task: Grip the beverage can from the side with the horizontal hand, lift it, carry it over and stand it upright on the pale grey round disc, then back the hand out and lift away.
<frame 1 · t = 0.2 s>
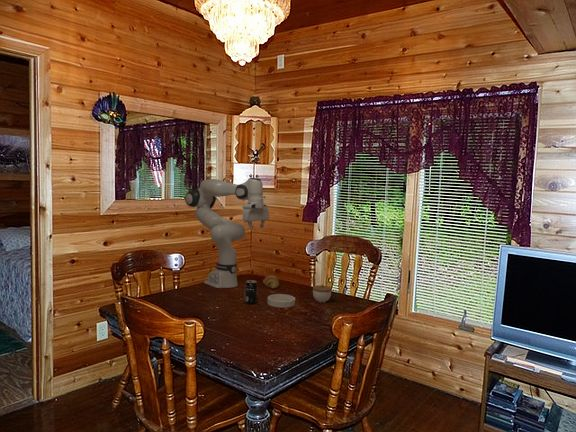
hand: (256, 228, 248), 39 cm above the table, tool pointing down, fingers open, 8 cm apart
lidded jar: (321, 301, 240), on the table
beverage can: (250, 302, 231), on the table
pale grey round disc: (281, 303, 232), on the table
croissant: (270, 286, 270), on the table
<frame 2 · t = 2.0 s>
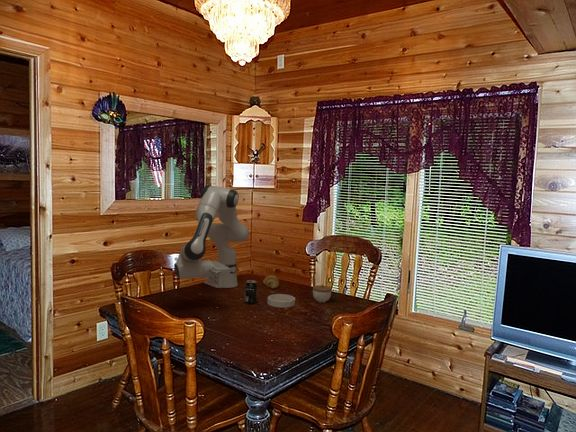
hand: (231, 267, 223), 21 cm above the table, tool horizontal, fingers open, 8 cm apart
nothing on the table moved.
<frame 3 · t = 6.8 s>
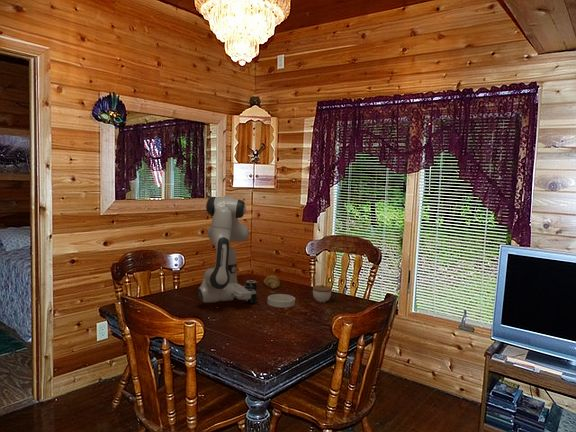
hand: (252, 289, 231), 7 cm above the table, tool horizontal, fingers closed on beverage can, 7 cm apart
beverage can: (250, 302, 231), on the table, touching gripper
everything else where it was.
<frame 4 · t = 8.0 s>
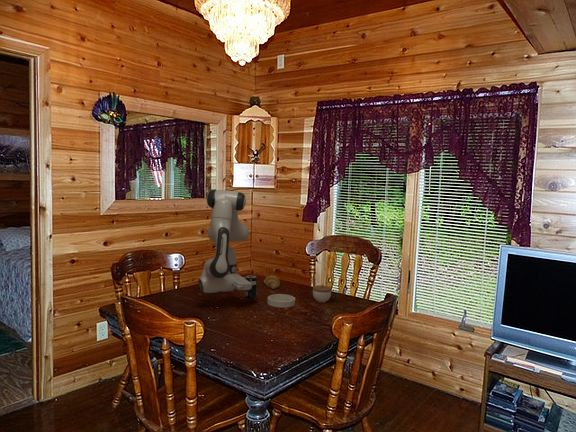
hand: (252, 280, 231), 12 cm above the table, tool horizontal, fingers closed on beverage can, 6 cm apart
beverage can: (250, 298, 231), point 2 cm above the table, touching gripper
everything else where it was.
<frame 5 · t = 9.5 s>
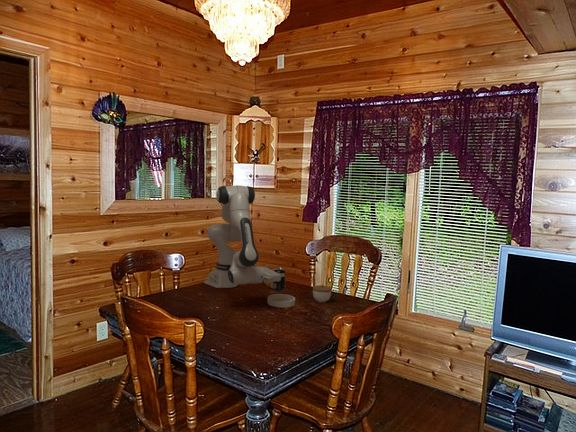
hand: (280, 273, 231), 17 cm above the table, tool horizontal, fingers closed on beverage can, 6 cm apart
beverage can: (278, 290, 231), point 7 cm above the table, touching gripper
everything else where it was.
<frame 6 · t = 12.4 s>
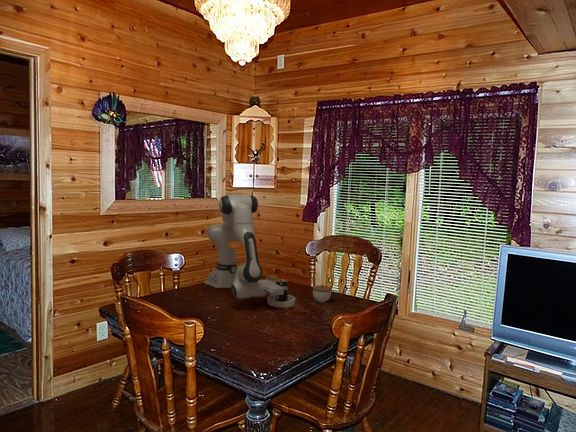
hand: (283, 286, 232), 10 cm above the table, tool horizontal, fingers closed on beverage can, 6 cm apart
beverage can: (281, 302, 231), point 1 cm above the table, touching pale grey round disc, gripper
everything else where it was.
when the fingers open (10 cm above the table, at t = 12.4 s): beverage can stays where it is, resting on pale grey round disc.
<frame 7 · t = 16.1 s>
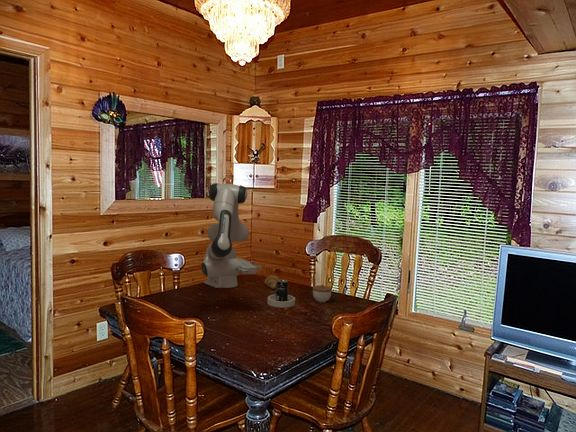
hand: (257, 265, 223), 22 cm above the table, tool horizontal, fingers open, 8 cm apart
beverage can: (281, 302, 231), point 1 cm above the table, touching pale grey round disc
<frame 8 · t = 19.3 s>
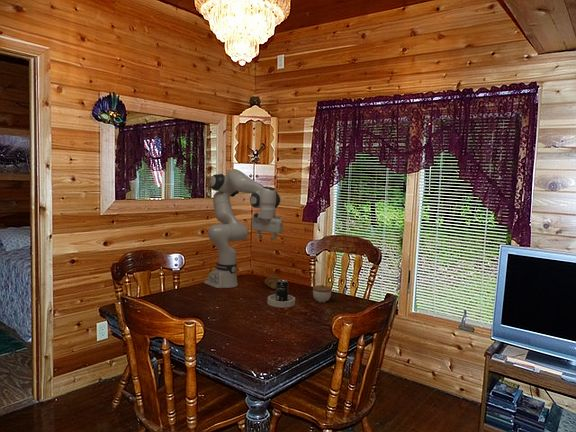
hand: (266, 239, 238), 34 cm above the table, tool pointing down, fingers open, 8 cm apart
at the end: beverage can inside the target area on the pale grey round disc (0.7 cm from its centre), point 0.8 cm above the pale grey round disc's base; beverage can tilted 0°; the gripper is holding nothing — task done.
